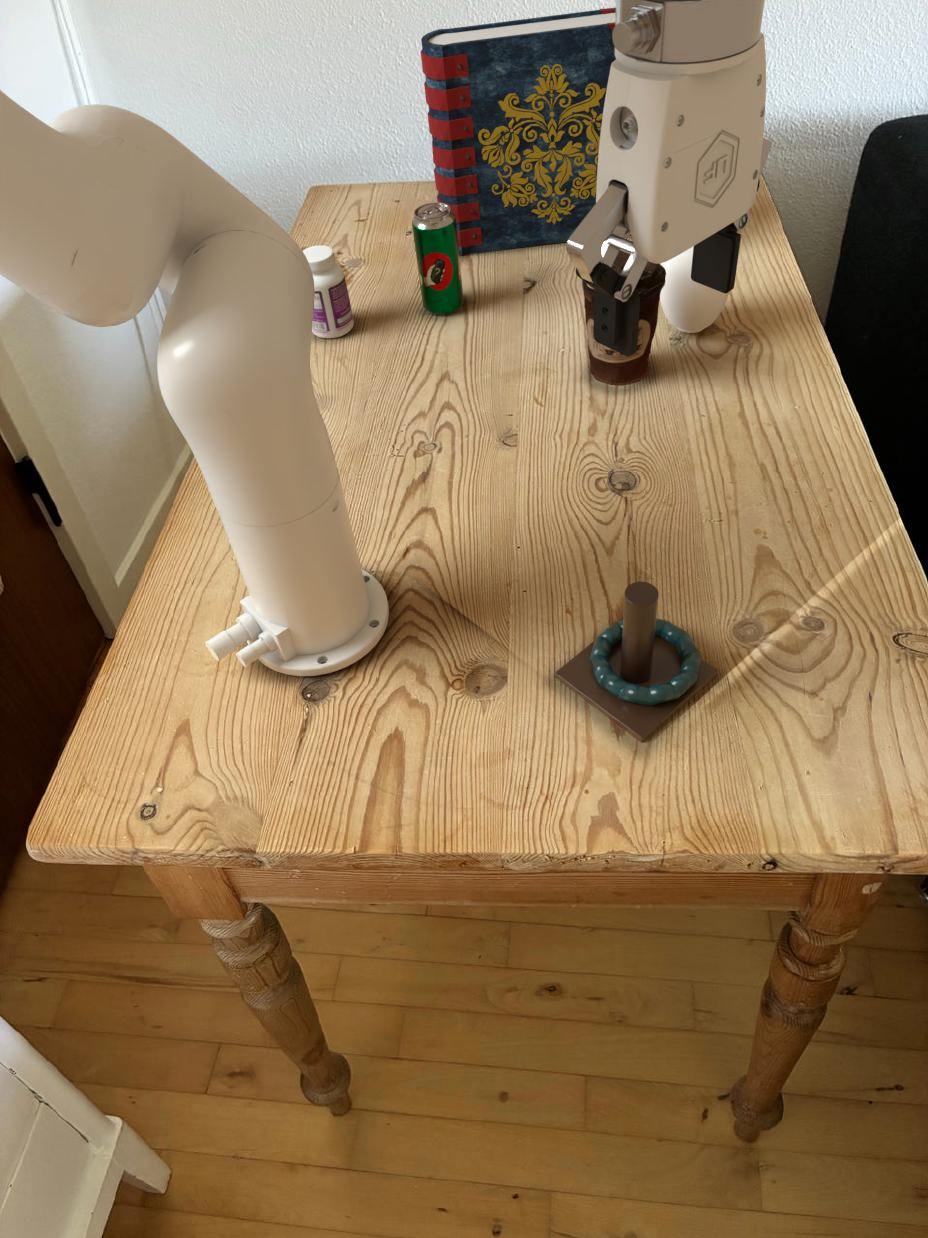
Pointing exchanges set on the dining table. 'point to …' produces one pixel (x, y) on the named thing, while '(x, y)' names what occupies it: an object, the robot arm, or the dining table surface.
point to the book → (518, 125)
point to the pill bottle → (329, 294)
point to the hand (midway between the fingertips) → (664, 315)
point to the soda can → (438, 258)
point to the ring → (639, 692)
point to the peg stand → (635, 667)
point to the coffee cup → (635, 367)
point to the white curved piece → (688, 296)
